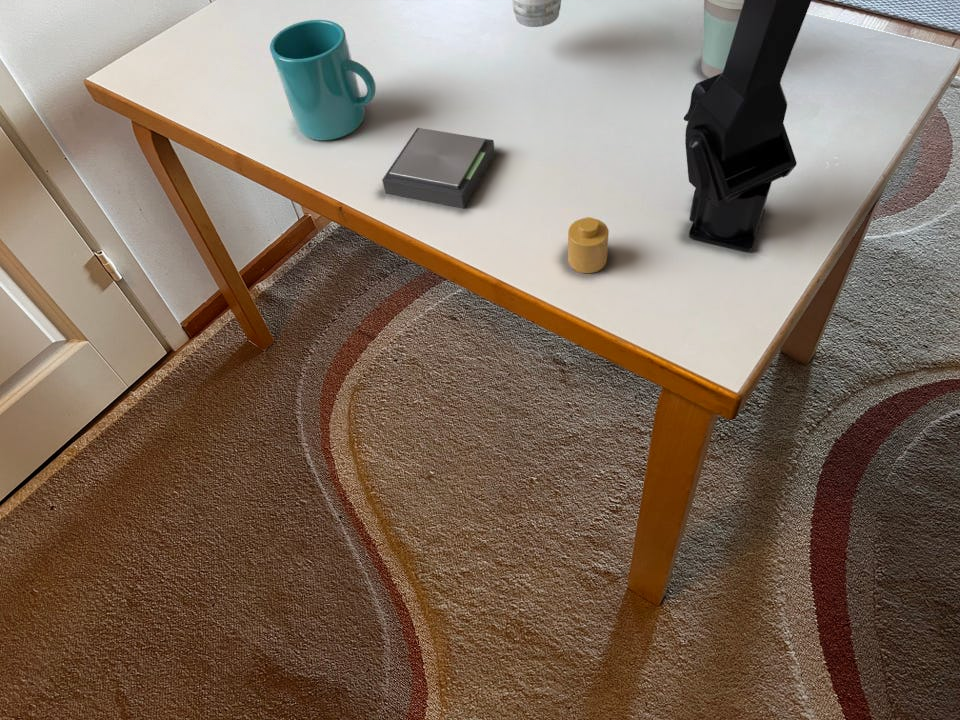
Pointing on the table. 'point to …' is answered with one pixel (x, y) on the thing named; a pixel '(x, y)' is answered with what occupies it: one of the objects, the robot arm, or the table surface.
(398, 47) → the table surface
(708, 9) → the coffee cup
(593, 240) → the brass weight
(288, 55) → the cup
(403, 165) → the scale
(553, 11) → the camera lens
